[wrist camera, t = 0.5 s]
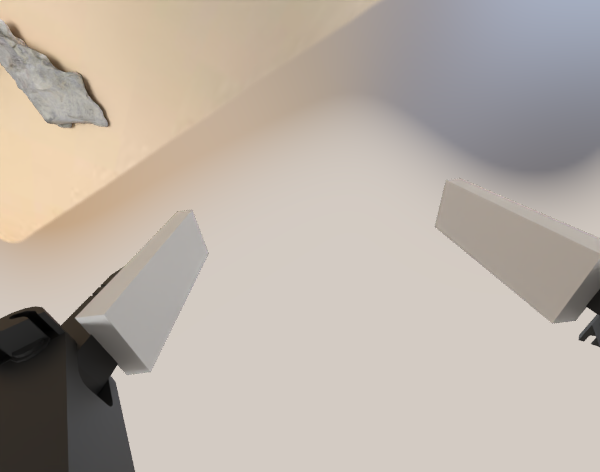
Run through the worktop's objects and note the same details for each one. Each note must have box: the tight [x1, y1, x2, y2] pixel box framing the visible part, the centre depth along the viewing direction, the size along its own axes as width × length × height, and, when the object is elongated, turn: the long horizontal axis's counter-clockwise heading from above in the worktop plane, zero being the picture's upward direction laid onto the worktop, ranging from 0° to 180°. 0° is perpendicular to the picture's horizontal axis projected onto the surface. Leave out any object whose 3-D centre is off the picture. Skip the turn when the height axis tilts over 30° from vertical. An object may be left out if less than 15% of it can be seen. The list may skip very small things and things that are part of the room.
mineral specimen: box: [0, 19, 108, 128], centre depth 28 cm, size 6×12×4 cm, turn 14°
